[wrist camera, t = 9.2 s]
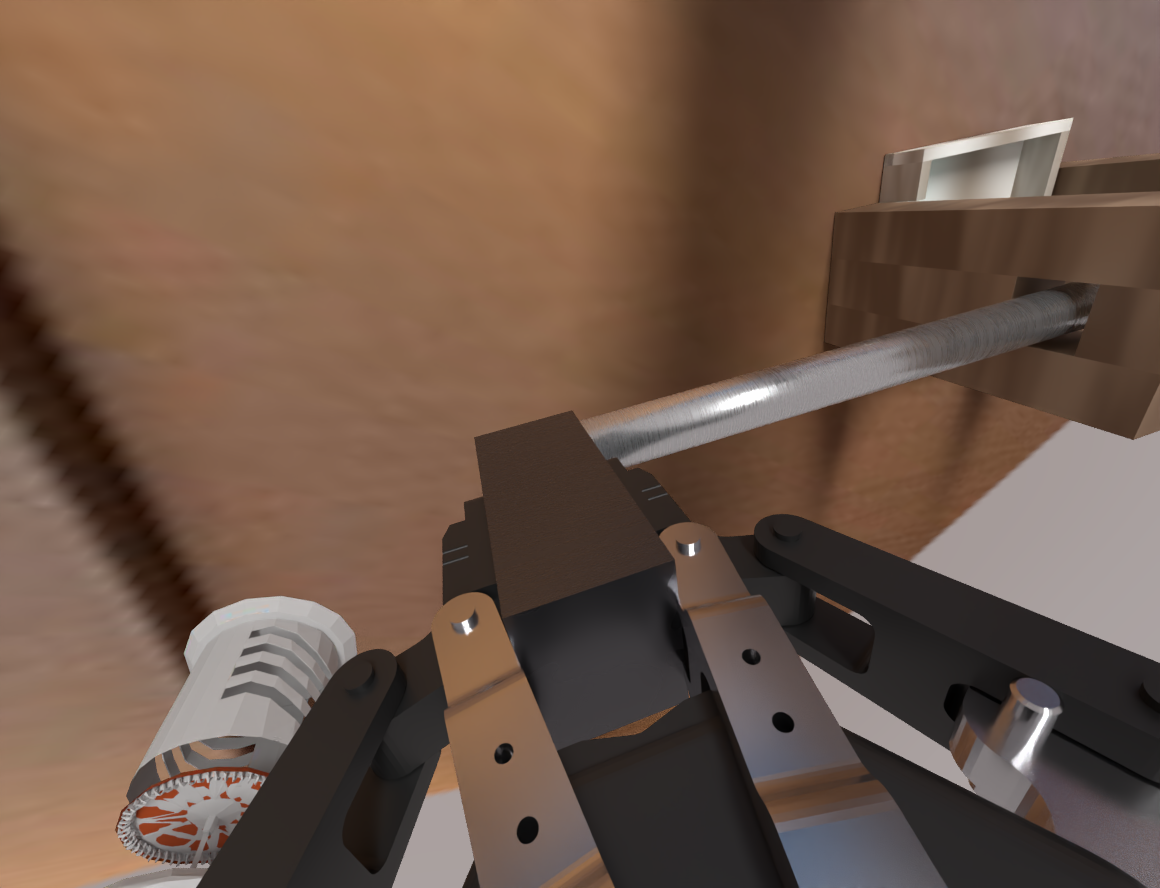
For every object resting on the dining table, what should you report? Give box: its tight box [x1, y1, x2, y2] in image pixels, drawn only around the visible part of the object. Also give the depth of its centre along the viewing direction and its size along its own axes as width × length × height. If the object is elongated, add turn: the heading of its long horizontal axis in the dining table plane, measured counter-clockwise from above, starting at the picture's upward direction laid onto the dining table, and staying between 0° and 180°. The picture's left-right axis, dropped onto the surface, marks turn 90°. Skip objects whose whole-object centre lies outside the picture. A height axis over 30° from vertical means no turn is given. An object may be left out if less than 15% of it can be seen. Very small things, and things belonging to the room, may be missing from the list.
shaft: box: [474, 282, 1100, 750], centre depth 14 cm, size 26×4×9 cm, turn 100°
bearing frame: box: [824, 118, 1160, 440], centre depth 23 cm, size 16×13×16 cm
